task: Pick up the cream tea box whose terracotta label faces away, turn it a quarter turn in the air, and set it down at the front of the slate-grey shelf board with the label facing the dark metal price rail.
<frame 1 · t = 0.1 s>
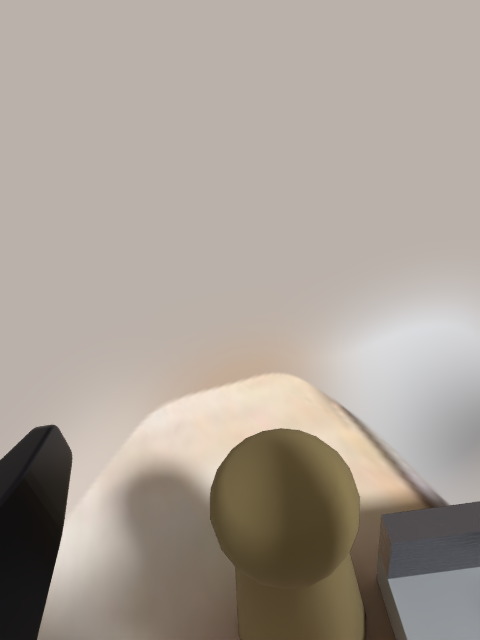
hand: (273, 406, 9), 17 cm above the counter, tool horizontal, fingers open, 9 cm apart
olive pawn: (300, 615, 20), on the counter
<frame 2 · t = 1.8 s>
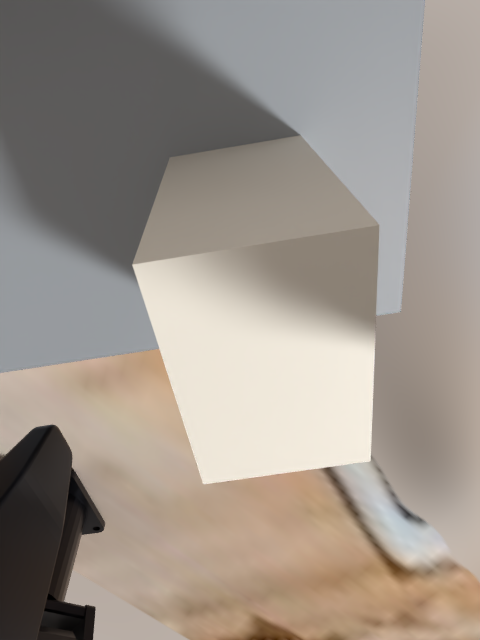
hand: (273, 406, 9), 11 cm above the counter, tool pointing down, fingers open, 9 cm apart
tea box: (248, 236, 16), point 2 cm above the counter, touching shelf
shelf: (153, 138, 16), on the counter
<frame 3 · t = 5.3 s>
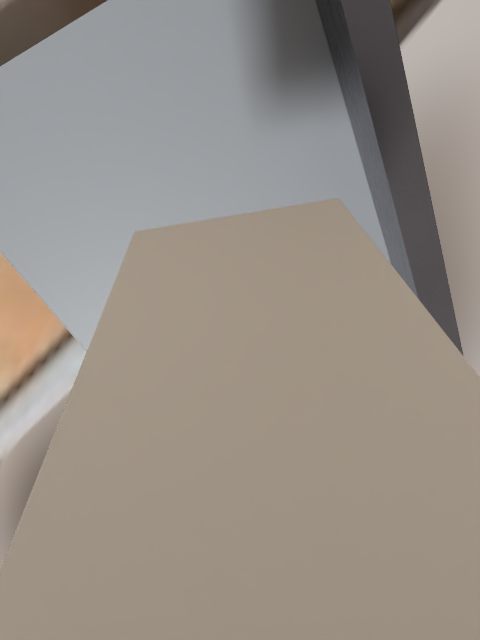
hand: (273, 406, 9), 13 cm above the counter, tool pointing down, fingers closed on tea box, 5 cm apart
tea box: (255, 336, 11), point 11 cm above the counter, touching gripper
shelf: (213, 227, 20), on the counter
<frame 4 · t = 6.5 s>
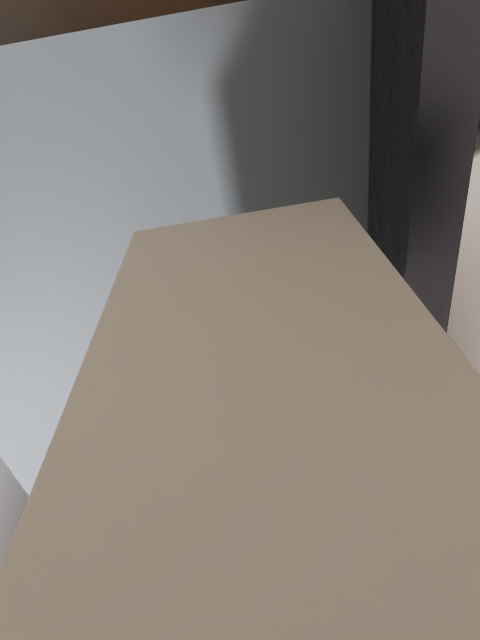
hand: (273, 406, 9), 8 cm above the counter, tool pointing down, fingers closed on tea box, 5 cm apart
tea box: (255, 336, 11), point 6 cm above the counter, touching gripper
shelf: (173, 306, 17), on the counter
when the fingers open (7 cm above the counter, at t = 7.5 s): tea box drops 2 cm, resting on shelf.
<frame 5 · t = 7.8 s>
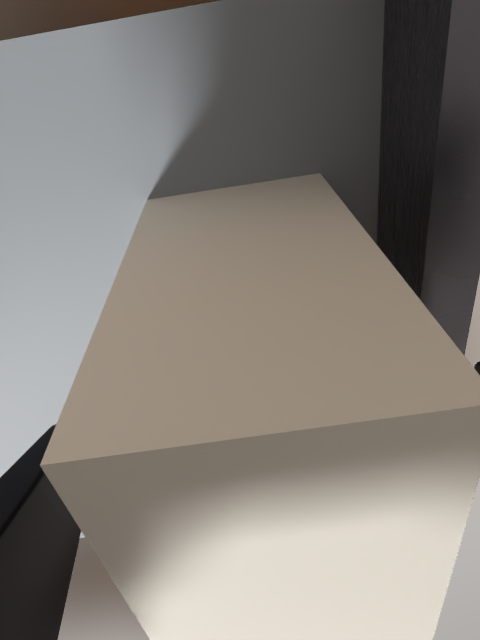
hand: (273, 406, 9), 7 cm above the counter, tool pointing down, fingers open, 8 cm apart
tea box: (249, 296, 12), point 2 cm above the counter, touching shelf
shelf: (169, 321, 16), on the counter
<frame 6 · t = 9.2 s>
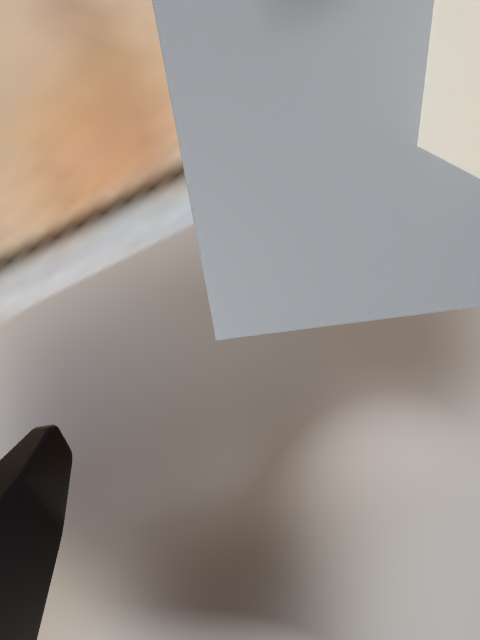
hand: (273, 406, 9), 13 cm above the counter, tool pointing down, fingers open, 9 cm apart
shelf: (375, 105, 17), on the counter
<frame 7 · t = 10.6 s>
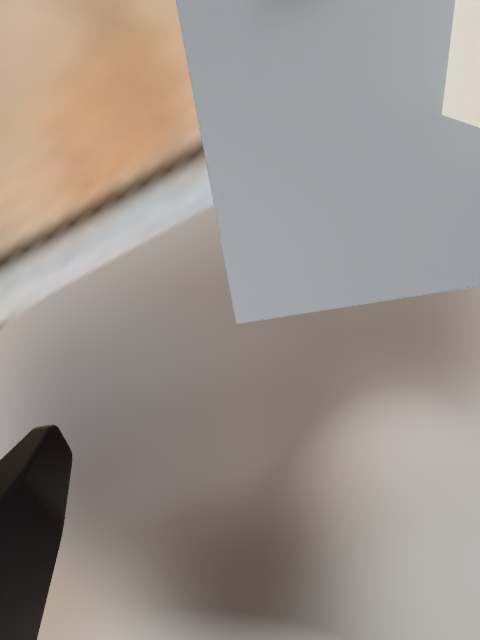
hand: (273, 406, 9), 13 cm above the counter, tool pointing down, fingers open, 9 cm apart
shelf: (396, 76, 17), on the counter
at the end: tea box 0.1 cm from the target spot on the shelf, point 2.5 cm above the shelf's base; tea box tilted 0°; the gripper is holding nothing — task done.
